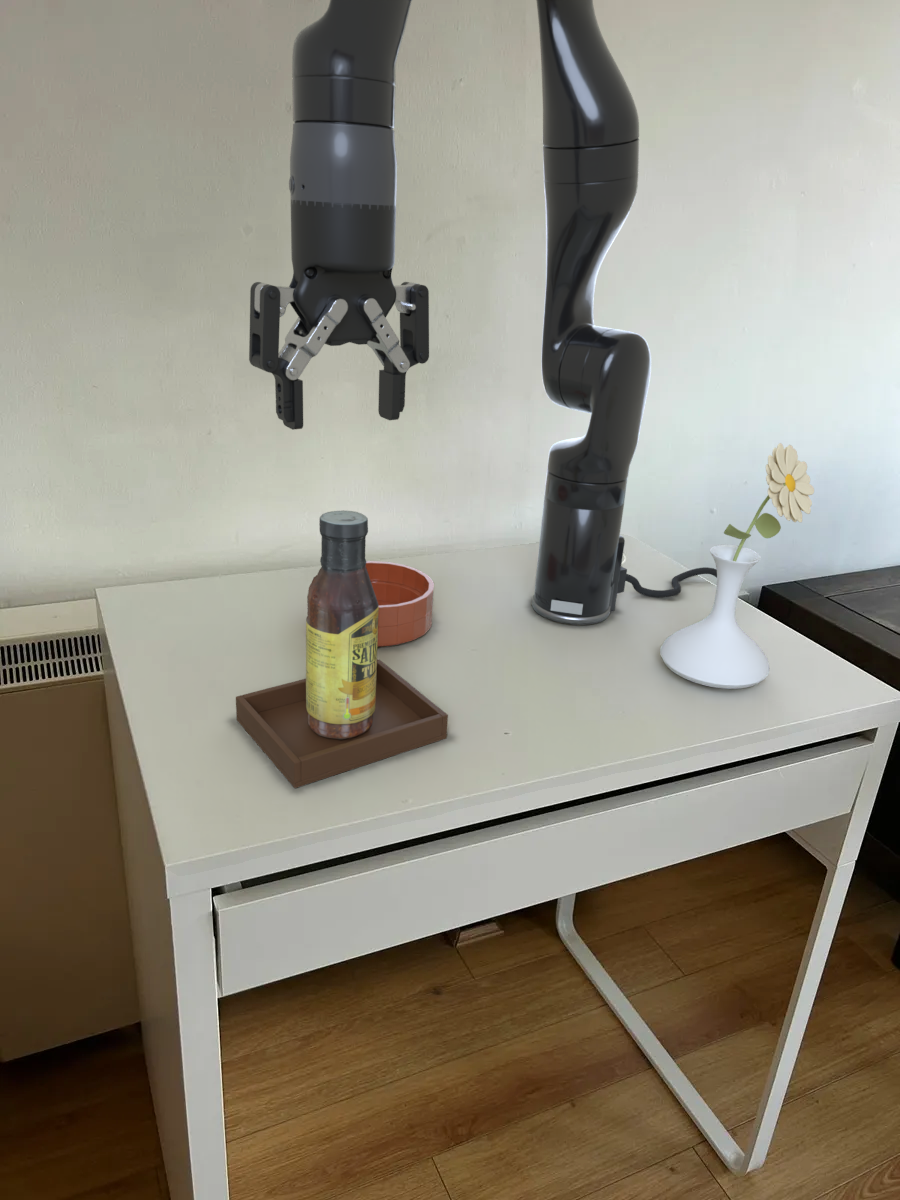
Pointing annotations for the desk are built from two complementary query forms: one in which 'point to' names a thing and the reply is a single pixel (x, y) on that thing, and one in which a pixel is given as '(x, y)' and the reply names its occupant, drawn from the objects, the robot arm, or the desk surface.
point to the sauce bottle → (341, 632)
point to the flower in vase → (738, 590)
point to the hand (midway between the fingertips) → (342, 422)
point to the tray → (310, 757)
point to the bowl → (401, 601)
